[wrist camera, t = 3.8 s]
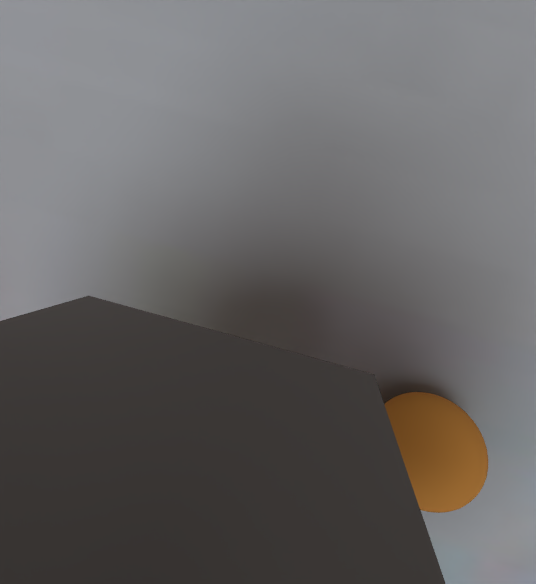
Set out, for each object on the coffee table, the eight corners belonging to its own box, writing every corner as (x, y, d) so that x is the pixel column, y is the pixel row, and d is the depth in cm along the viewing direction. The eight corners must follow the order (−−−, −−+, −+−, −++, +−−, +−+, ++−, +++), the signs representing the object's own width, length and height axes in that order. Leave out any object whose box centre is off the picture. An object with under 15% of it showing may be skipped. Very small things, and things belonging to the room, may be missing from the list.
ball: (442, 472, 19) (482, 559, 14) (351, 442, 19) (359, 517, 14) (477, 391, 17) (534, 456, 13) (379, 362, 18) (398, 414, 13)
